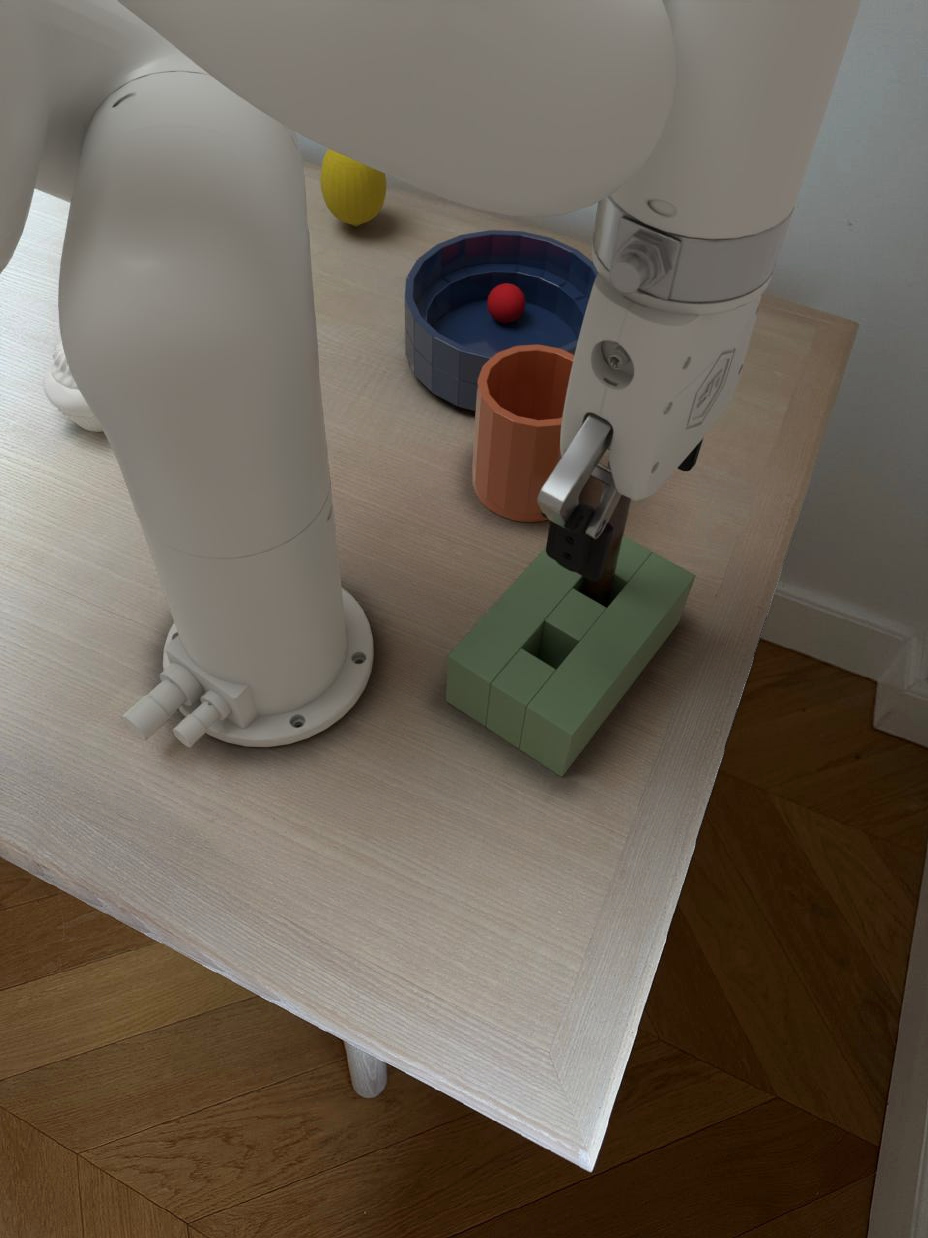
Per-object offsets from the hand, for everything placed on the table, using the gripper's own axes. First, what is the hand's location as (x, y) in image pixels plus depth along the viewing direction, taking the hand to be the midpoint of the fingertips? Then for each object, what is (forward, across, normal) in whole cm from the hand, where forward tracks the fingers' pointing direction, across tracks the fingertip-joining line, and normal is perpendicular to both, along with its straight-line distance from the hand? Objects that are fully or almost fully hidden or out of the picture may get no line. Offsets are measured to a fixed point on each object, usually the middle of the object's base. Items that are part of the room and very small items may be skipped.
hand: (622, 509), depth 54 cm
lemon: (+12, +24, +40) cm, 48 cm away
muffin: (+12, -6, +39) cm, 41 cm away
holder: (+12, -3, 0) cm, 12 cm away
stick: (+12, 0, 0) cm, 12 cm away
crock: (+12, +8, +11) cm, 18 cm away
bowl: (+12, +18, +20) cm, 29 cm away
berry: (+9, +21, +22) cm, 32 cm away
